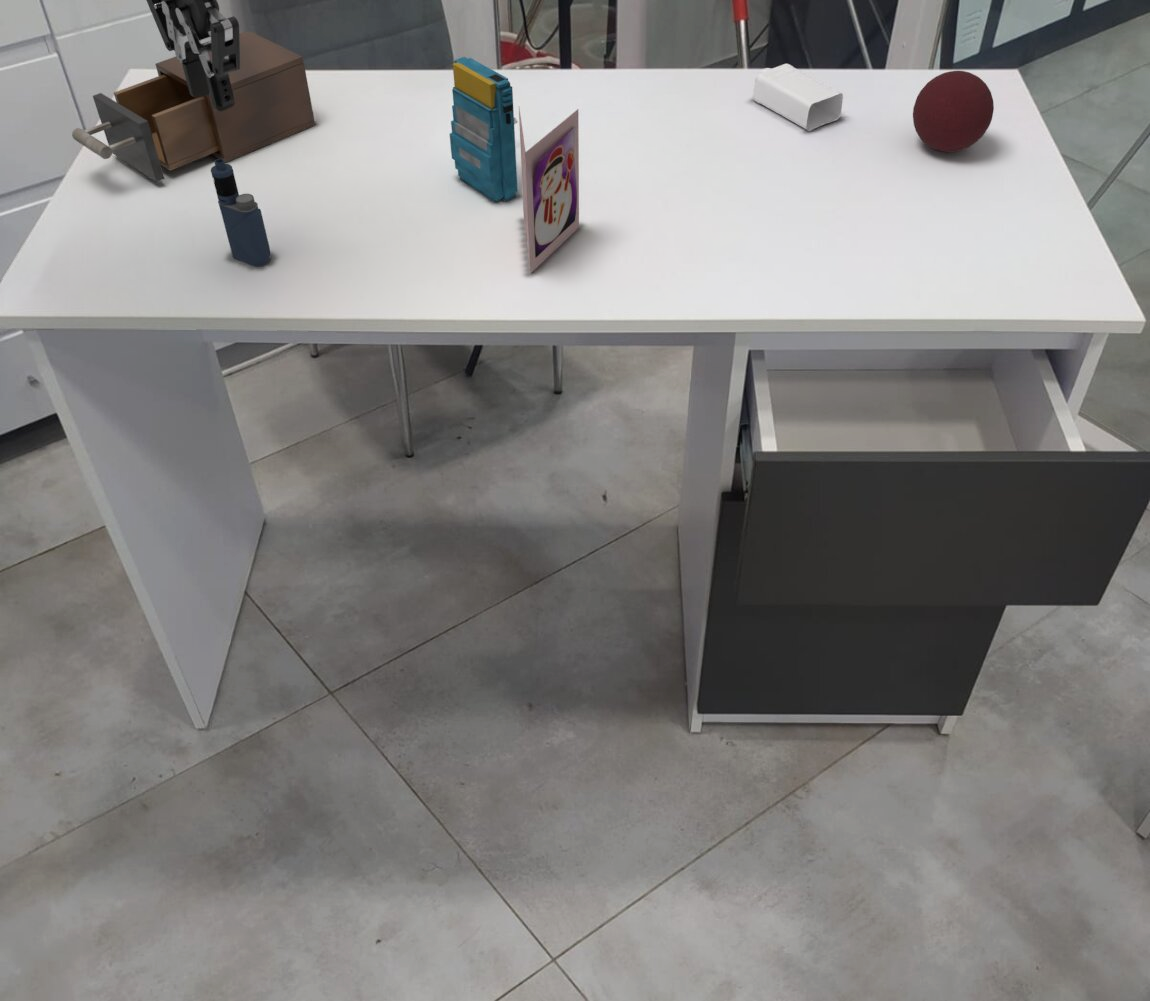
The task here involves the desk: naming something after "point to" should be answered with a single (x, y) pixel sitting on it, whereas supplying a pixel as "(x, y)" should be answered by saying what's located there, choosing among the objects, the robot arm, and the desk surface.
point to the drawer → (152, 126)
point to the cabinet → (257, 97)
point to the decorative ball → (953, 111)
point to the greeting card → (550, 189)
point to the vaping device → (240, 218)
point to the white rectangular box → (797, 96)
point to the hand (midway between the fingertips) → (213, 100)
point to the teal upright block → (483, 130)
